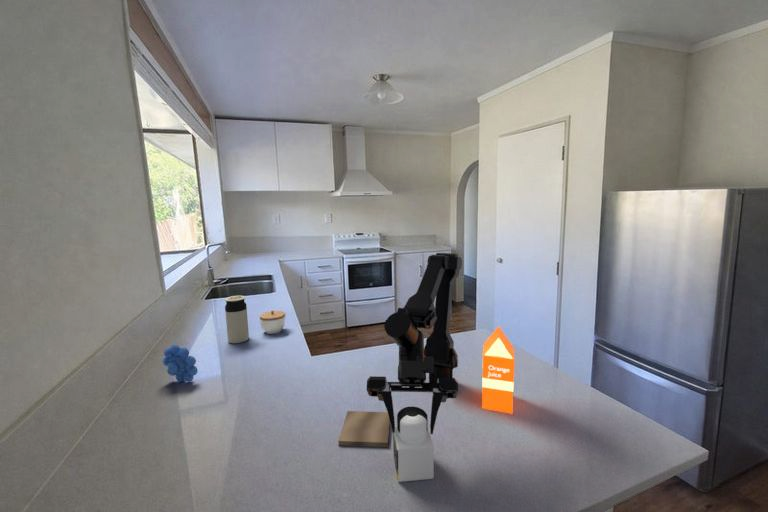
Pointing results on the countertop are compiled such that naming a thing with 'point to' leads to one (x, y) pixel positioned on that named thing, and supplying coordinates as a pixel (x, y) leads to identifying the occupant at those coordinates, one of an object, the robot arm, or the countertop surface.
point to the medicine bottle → (413, 446)
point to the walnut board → (365, 429)
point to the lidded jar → (272, 321)
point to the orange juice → (498, 373)
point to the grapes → (180, 363)
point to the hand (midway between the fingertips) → (412, 433)
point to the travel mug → (236, 319)
